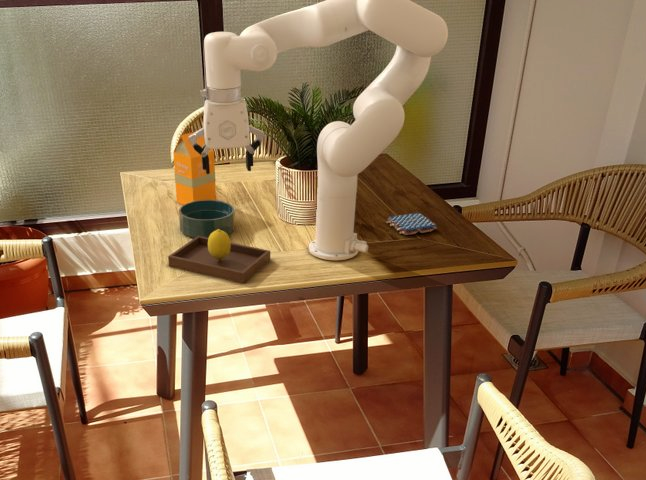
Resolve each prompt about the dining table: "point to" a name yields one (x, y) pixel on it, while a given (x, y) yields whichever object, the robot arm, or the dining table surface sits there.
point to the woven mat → (411, 223)
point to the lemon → (219, 244)
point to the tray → (232, 267)
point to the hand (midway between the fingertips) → (228, 170)
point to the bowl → (206, 218)
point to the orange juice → (193, 172)
